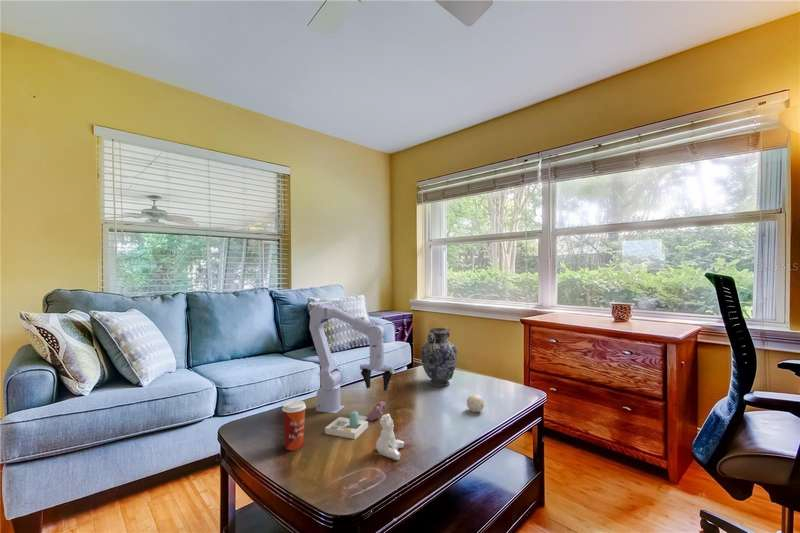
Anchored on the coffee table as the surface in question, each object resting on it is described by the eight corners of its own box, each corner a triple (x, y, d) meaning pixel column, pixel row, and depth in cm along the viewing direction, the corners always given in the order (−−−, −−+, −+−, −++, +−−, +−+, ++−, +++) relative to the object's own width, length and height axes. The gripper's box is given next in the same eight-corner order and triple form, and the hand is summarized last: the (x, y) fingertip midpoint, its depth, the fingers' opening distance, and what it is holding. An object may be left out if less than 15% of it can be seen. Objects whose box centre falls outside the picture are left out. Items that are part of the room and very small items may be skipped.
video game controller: (375, 426, 134) (383, 410, 133) (365, 420, 135) (373, 404, 134) (382, 416, 144) (389, 401, 143) (372, 410, 144) (380, 395, 144)
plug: (347, 433, 125) (347, 413, 125) (351, 429, 128) (351, 410, 128) (356, 434, 124) (356, 414, 124) (359, 430, 127) (359, 411, 127)
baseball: (471, 416, 139) (471, 399, 139) (464, 409, 146) (464, 392, 146) (487, 414, 140) (487, 397, 141) (479, 407, 148) (479, 391, 148)
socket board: (325, 434, 124) (325, 426, 124) (339, 423, 133) (339, 416, 133) (355, 440, 120) (355, 432, 120) (368, 427, 129) (367, 420, 129)
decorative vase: (447, 392, 165) (445, 333, 166) (413, 386, 175) (412, 330, 176) (464, 381, 183) (463, 327, 184) (433, 376, 193) (432, 325, 194)
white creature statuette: (399, 461, 106) (399, 421, 106) (372, 459, 108) (371, 420, 108) (404, 446, 115) (404, 409, 116) (379, 444, 117) (379, 408, 117)
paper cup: (293, 454, 111) (292, 410, 111) (277, 448, 115) (276, 405, 115) (311, 444, 117) (311, 402, 117) (295, 438, 121) (295, 397, 122)
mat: (344, 422, 134) (344, 421, 134) (353, 415, 140) (353, 414, 140) (360, 425, 131) (360, 424, 131) (368, 418, 138) (368, 417, 138)
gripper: (356, 355, 141) (356, 389, 140) (389, 358, 135) (389, 394, 135) (364, 352, 147) (364, 384, 147) (396, 354, 142) (396, 388, 142)
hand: (376, 388), depth 142 cm, fingers open, 7 cm apart
